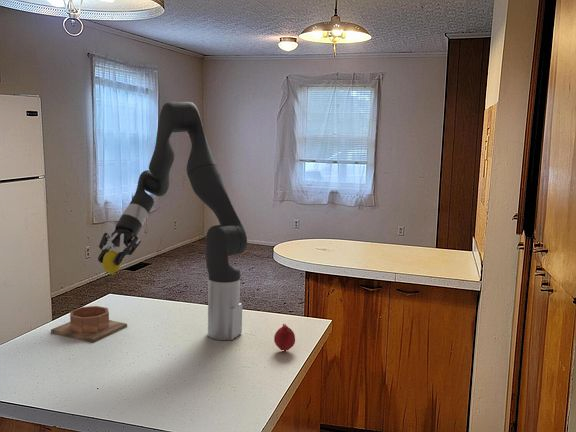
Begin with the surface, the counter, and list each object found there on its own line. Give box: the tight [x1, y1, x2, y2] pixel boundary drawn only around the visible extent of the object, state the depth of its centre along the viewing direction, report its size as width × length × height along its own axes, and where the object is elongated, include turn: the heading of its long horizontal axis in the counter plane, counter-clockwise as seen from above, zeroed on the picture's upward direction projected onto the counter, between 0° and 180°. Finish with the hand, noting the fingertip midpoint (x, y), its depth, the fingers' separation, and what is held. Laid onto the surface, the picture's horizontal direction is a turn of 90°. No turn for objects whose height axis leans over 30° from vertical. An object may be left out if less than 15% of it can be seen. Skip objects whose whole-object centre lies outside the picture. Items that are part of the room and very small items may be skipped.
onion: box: [273, 323, 296, 352], centre depth 145 cm, size 6×6×8 cm
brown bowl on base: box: [50, 305, 128, 343], centre depth 156 cm, size 16×14×6 cm
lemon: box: [102, 250, 122, 276], centre depth 167 cm, size 6×6×8 cm
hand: (107, 262), depth 165 cm, fingers closed on lemon, 5 cm apart
